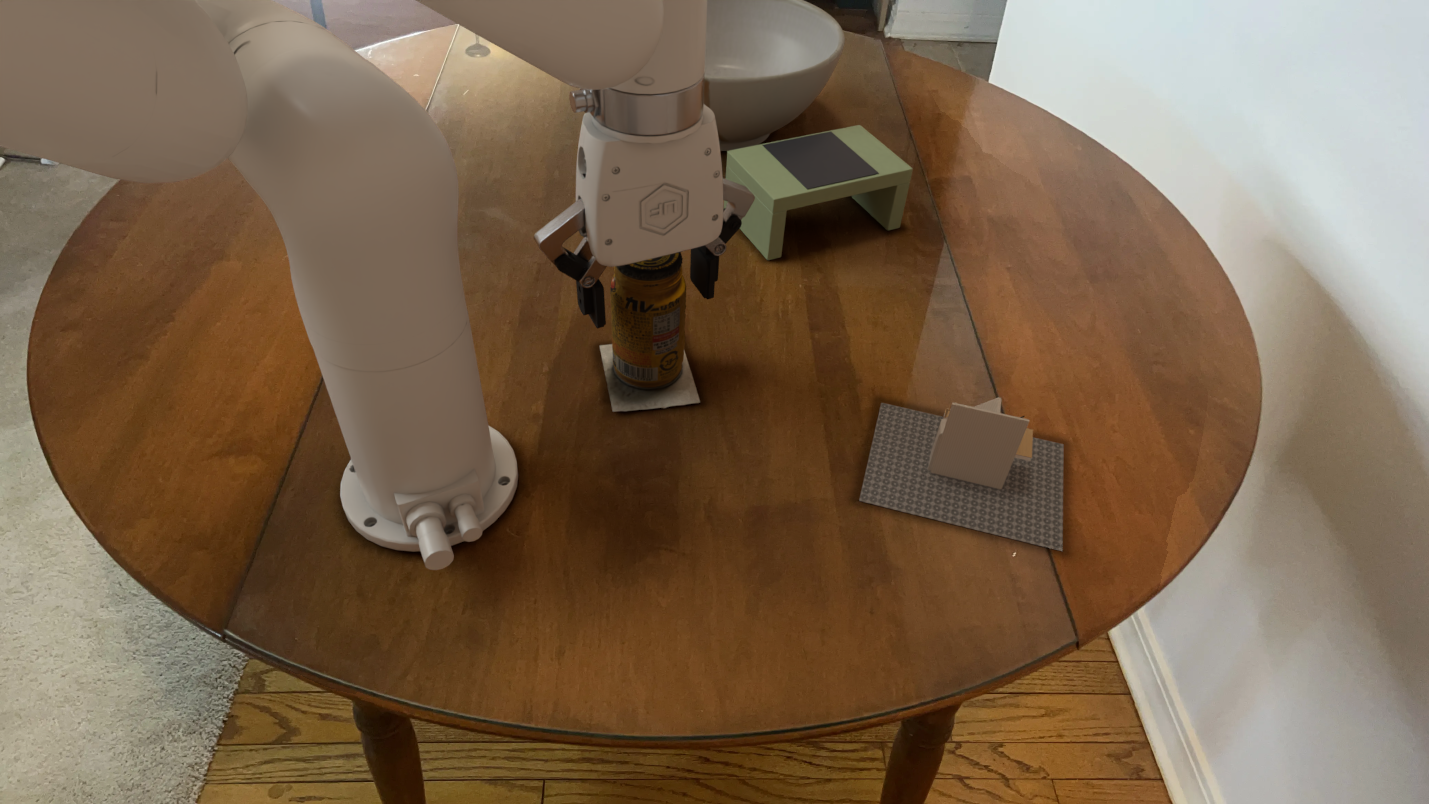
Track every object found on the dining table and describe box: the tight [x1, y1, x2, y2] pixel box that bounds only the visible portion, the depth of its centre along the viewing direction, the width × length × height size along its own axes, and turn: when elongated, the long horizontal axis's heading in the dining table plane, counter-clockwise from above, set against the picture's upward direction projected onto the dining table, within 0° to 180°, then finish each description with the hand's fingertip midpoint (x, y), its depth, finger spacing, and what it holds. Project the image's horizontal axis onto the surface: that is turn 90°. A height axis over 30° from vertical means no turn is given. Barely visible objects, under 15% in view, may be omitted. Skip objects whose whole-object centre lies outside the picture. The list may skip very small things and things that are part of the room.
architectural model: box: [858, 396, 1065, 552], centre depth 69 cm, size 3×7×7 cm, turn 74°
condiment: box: [599, 252, 701, 413], centre depth 73 cm, size 7×8×12 cm
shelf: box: [723, 124, 914, 261], centre depth 93 cm, size 10×16×7 cm, turn 116°
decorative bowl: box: [704, 0, 846, 152], centre depth 106 cm, size 27×27×12 cm
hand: (649, 302), depth 72 cm, fingers open, 8 cm apart
